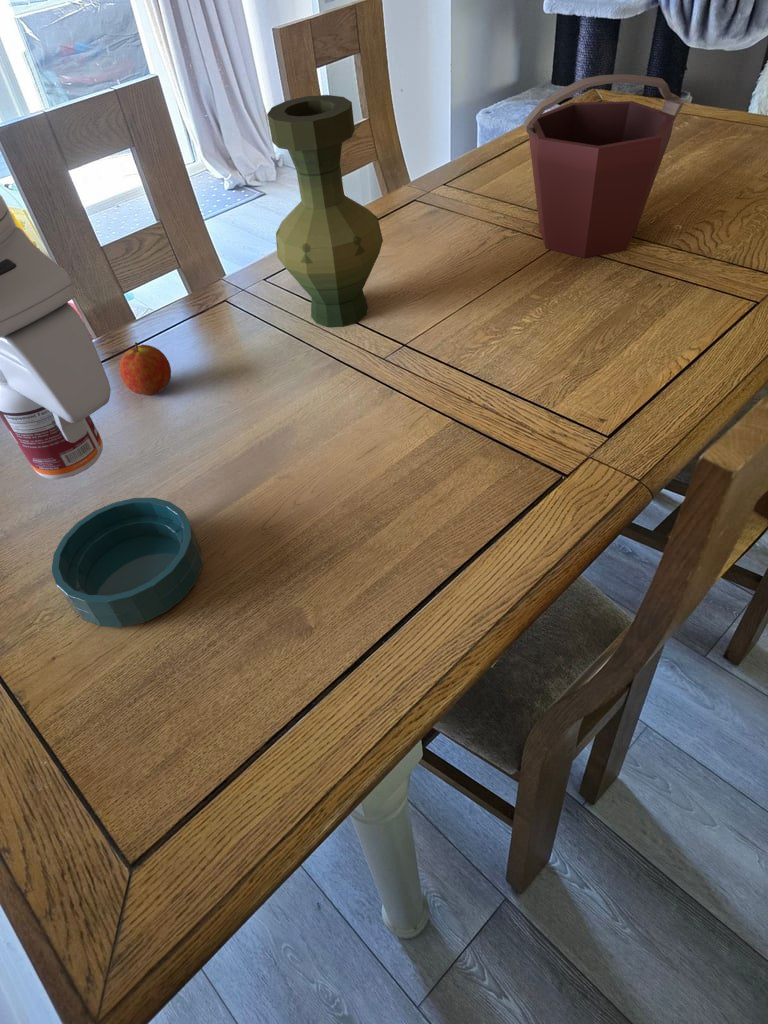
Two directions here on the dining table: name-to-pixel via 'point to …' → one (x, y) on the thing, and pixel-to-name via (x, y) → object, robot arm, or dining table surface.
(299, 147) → the vase
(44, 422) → the pill bottle
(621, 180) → the bucket
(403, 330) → the dining table surface
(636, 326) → the dining table surface
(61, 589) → the bowl
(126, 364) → the fruit
